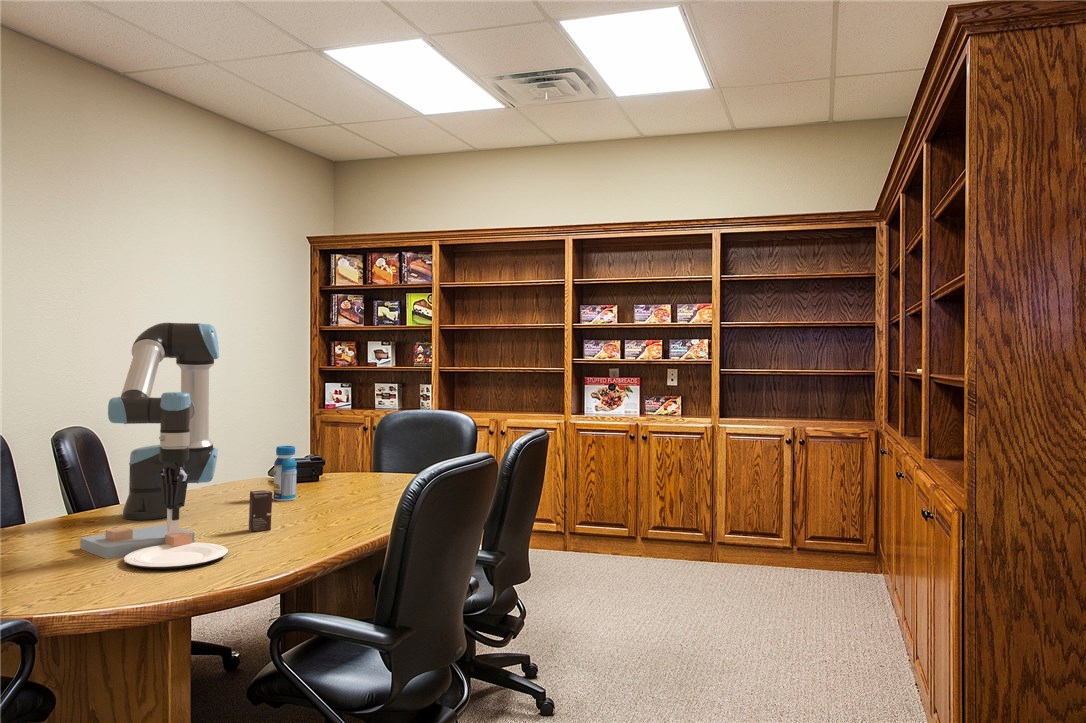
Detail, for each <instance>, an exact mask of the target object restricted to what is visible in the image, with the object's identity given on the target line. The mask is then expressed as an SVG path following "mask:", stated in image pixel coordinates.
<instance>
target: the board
mask: <svg viewBox="0 0 1086 723" xmlns="http://www.w3.org/2000/svg"><path fill="white" fill-rule="evenodd" d="M132 530H133V539H128V540H122V541H116V542H113V541H110V540H107V539H105V536H106V533H105V534H103V533H102V534H96V535H91V536H90V535H89V536H85V537H80V538H79V540H80V541H79V542H80V544H79V545H80V546H79V549H80V550H82V551H84V552H87V553H90V554H93V555H95V556H98V557H100V558H103V559H105V560H107V559H113V558H114V559H115V558H118V557H119V558H120V557H125V556H126V555H128V554H129V553H131V552H134V551H136V550H139V549H143V548H147V547H152V546H158V545H165V535H166V534H172V533H178V532H185V533H189V534H192V543H195V532H194V531H192V530H191V531H190V530H187V529H184V528H180V527H179V531H176V532H170V533H169V532H167V523H166V524H160V525H154V526H149V527H141V528H136V529H132Z"/></svg>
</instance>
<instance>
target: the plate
mask: <svg viewBox="0 0 1086 723" xmlns="http://www.w3.org/2000/svg"><path fill="white" fill-rule="evenodd" d="M228 550H229V549H228V548H226V547H225V546H222V545H220V544H216V543H208V542H194V543H191V544H186V545H180V546H171V545H168V544H165V545H158V546H152V547H147V548H143V549H139V550H136V551H134V552H131V553H129V554H128V555H125V556H123V561H124V563H125V564H127V565H130V566H133V567H138V568H143V569H149V570H150V569H151V570H152V569H153V570H174V569H176V570H177V569H183V568H184V569H185V568H191V567H196V566H201V565H204V564H209V563H211V562H213V561H217V560H219V559H221V558H223V557H225V556H226V555H227V554H228V552H229V551H228Z"/></svg>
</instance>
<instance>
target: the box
mask: <svg viewBox="0 0 1086 723" xmlns="http://www.w3.org/2000/svg"><path fill="white" fill-rule="evenodd" d="M272 507H273V492H272V491H271V490H270V489H265V490H263V489H262V490H251V491H249V508H248V509H249V511H248V531H250V532H252V533H253V532H262V531H271V530H272Z"/></svg>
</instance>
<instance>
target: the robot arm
mask: <svg viewBox="0 0 1086 723" xmlns="http://www.w3.org/2000/svg"><path fill="white" fill-rule="evenodd" d="M216 330H217V329H216V328H215V326H214V325H212V324H209V323H201V322H200V323H194V322H192V323H191V322H190V323H189V322H188V323H187V322H179V323H178V322H161V323H156V324H155V325H153V326H150V327H149V328H147V329H145V330H144V331H143V332H141V333H140V334H139V335H138V336H137V337H136V339H135V341H133V344H132V348H131V355H132V359H131V362H130V365H129V366H130V367H129V369H128V372H127V374H126V379H125V382H124V384H123V388H122V391H121V394H120V396H117V397H116V396H115V397H112V398H110V399H109V401H108V405H107V416H108V420H109V422H110V423H113V424H123V425H127V424H129V425H131V424H132V425H133V424H134V425H135V424H136V425H137V424H159V425H160V426H159V427H160V430H159V432H160V433H159V434H160V435H159V437H158V439H159V444H153V445H147V446H143V447H142V446H141V447H138V448H135V449H133V450H132V451H131V452H130V455H129V462H128V465H129V478H128V479H129V483H128V487H129V489H128V496H127V498H126V502H125V504H124V506H123V509H122V518H123V519H125V520H131V521H145V520H146V521H147V520H157V519H164V518H166V524H167V532H169V533H170V532H176V531H179V528H180V509H181V508H183V507H184V506H185V504H186V497H187V489H188V484H197V485H198V484H200V483H201V484H203V483H209V482H212V481H213V479H214V476H215V471H216V467H217V461H218V460H217V459H218V451H219V450H218V448H216V447H214V442H213V441H212V440H211V439H209V429H210V428H209V424H210V423H209V421H210V420H209V419H210V418H209V417H210V410H209V405H210V369H211V368H212V366H214V365H215V360H218V359H219V357H220V353H219V350H220V349H219V347H220V346H219V341H218V334H217V331H216ZM165 358H166V359H175V364H176V365H177V366H178V367H179V368H180V391H173V392H172V391H171V392H170V391H169V392H163V393H161V396H160V397H151V396H152V391H153V386H154V383H155V380H156V376H157V373H158V368H159V364H160V363H161V362H162V361H163V360H164V359H165Z"/></svg>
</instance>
